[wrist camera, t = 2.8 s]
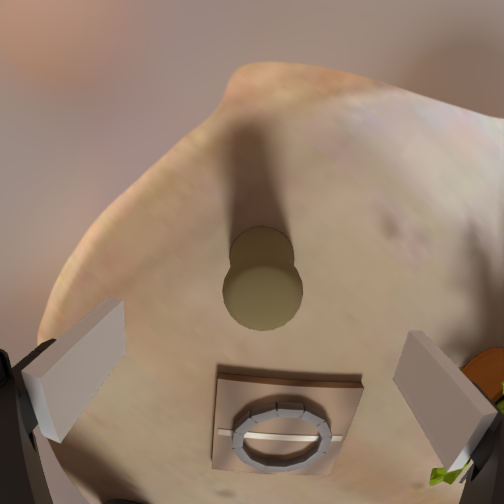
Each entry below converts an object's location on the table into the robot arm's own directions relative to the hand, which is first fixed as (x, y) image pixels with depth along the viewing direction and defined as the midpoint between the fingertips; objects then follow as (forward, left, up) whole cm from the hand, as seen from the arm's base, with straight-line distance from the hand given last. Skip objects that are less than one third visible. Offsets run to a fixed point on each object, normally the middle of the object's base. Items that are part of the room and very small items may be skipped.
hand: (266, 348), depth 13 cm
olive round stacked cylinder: (0, 0, -17) cm, 17 cm away
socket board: (+5, -21, -17) cm, 27 cm away
